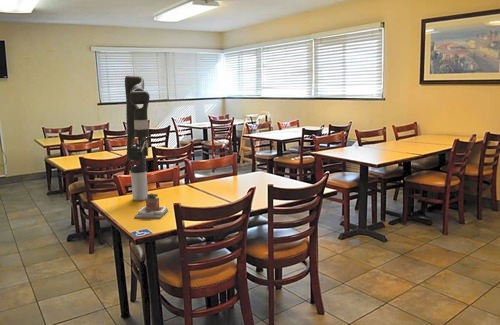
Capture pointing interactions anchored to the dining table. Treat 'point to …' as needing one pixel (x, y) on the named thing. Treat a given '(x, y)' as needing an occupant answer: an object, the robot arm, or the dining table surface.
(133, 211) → the dining table surface
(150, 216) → the grey flat square tray
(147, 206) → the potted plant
